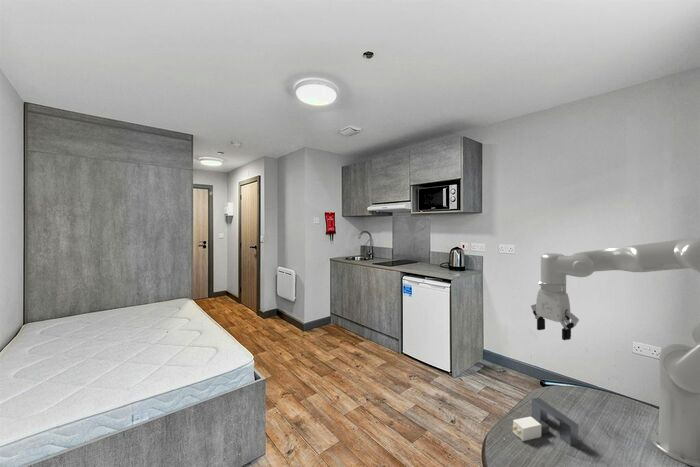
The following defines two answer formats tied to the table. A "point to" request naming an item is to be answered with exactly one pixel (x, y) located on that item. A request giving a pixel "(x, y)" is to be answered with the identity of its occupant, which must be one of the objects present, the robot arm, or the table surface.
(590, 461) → the table surface
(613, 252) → the robot arm
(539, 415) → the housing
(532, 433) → the plug
